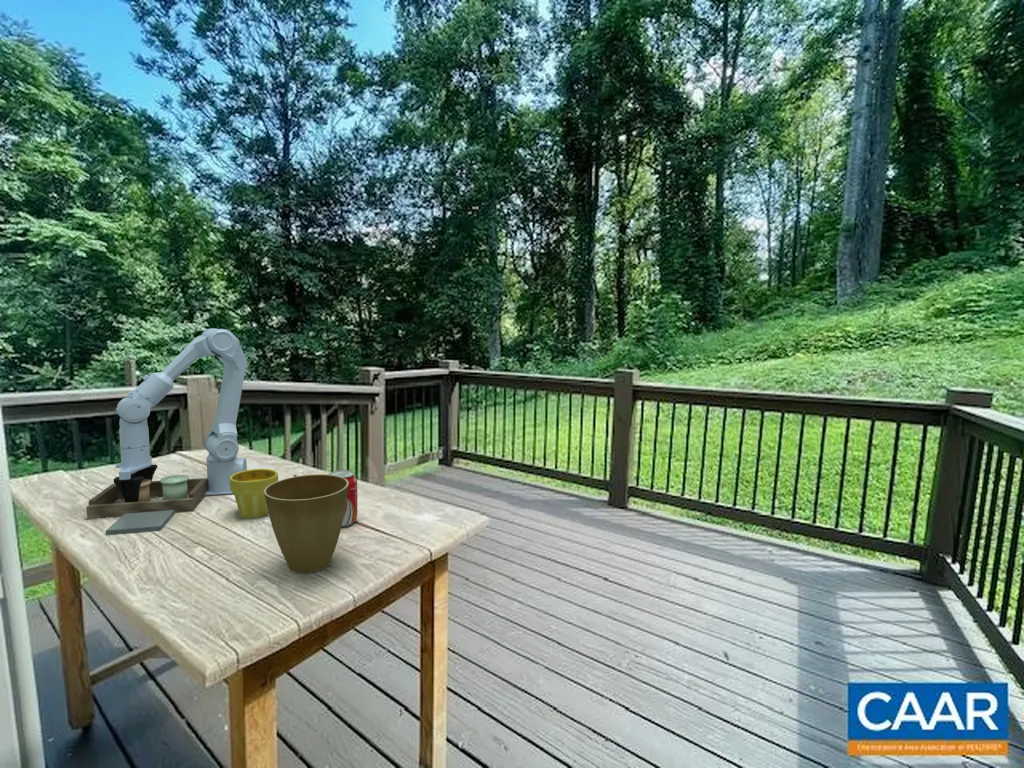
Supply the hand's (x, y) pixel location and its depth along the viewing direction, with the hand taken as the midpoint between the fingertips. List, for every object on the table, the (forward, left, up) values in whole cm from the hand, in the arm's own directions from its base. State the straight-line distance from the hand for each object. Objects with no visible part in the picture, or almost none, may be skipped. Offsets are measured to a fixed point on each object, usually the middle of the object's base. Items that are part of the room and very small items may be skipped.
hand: (138, 499), depth 124 cm
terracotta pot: (0, 0, -2) cm, 2 cm away
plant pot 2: (-42, +43, -2) cm, 60 cm away
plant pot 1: (-28, +12, -2) cm, 31 cm away
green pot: (-8, 0, -2) cm, 8 cm away
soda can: (-48, +23, -2) cm, 53 cm away
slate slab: (-5, +13, -2) cm, 14 cm away
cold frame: (-3, 0, -2) cm, 3 cm away
